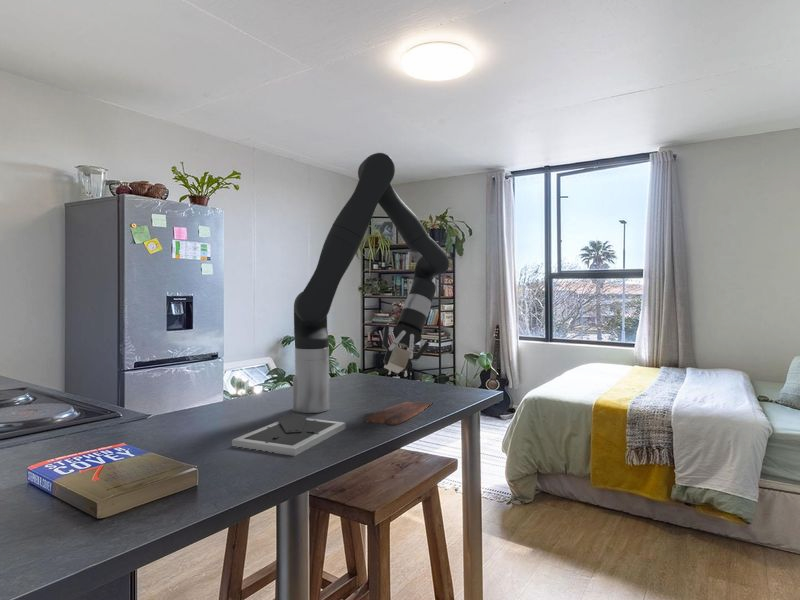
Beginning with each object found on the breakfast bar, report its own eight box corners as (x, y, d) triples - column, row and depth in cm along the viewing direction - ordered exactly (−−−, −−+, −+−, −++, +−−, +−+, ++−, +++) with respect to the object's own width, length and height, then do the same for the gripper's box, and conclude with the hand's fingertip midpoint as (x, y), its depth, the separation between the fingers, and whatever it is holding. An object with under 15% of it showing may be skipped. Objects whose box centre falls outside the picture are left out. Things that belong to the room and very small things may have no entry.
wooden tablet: (407, 397, 146) (438, 396, 142) (408, 404, 146) (439, 404, 141) (361, 418, 122) (396, 418, 118) (362, 427, 122) (397, 427, 118)
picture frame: (290, 424, 122) (232, 449, 103) (290, 413, 122) (232, 436, 103) (345, 431, 116) (295, 459, 97) (345, 419, 116) (295, 445, 97)
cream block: (389, 353, 141) (395, 346, 132) (403, 359, 141) (411, 352, 132) (383, 367, 139) (389, 361, 130) (398, 373, 140) (405, 368, 130)
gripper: (394, 299, 136) (372, 355, 130) (441, 319, 137) (421, 375, 131) (389, 307, 143) (368, 360, 137) (434, 325, 144) (415, 379, 138)
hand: (394, 367), depth 134 cm, fingers closed on cream block, 4 cm apart
